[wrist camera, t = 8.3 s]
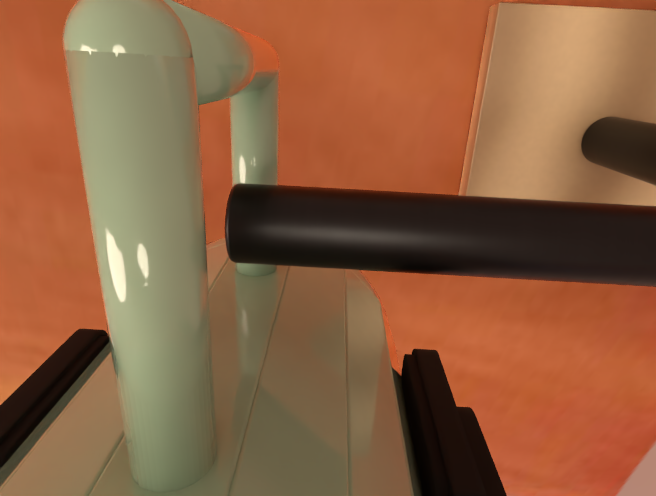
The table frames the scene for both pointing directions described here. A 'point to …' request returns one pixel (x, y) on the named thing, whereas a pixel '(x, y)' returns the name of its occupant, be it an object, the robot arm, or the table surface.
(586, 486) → the table surface
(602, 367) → the table surface
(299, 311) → the small mug
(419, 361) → the robot arm
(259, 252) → the mug holder
